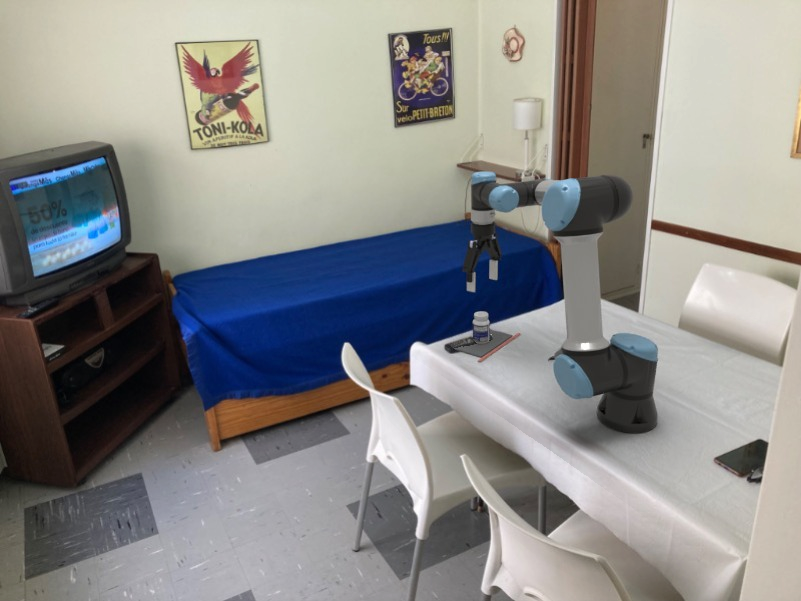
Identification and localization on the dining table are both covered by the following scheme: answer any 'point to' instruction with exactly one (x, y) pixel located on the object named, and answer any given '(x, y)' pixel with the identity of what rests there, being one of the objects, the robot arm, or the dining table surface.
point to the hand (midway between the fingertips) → (482, 285)
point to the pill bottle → (481, 328)
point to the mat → (485, 348)
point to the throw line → (499, 347)
